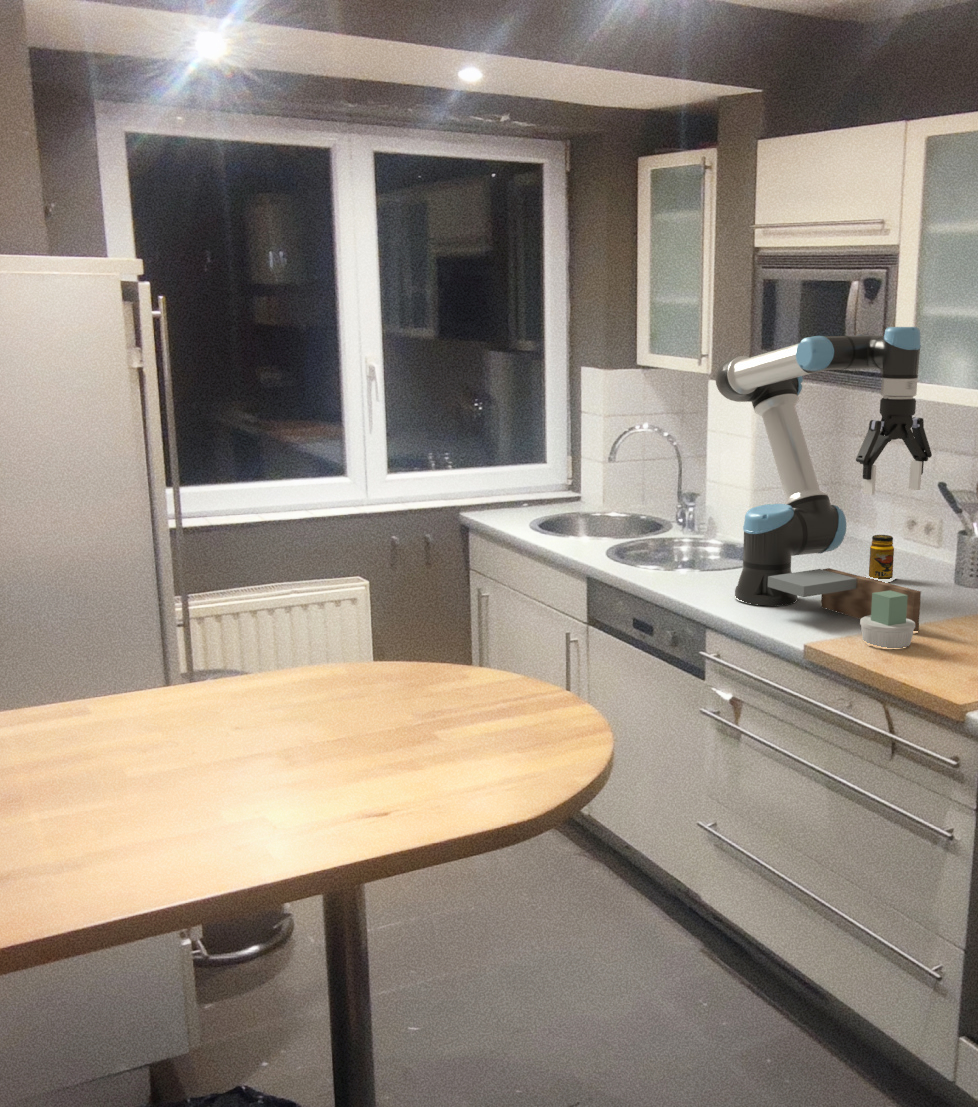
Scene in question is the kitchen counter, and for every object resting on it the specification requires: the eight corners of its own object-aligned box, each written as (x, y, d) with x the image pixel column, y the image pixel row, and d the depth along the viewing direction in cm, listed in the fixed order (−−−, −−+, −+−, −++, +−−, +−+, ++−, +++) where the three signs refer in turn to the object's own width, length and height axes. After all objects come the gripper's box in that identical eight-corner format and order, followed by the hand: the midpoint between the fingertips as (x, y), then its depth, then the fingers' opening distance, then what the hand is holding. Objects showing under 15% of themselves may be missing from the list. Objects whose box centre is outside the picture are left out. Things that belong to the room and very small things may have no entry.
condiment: (886, 584, 291) (889, 539, 289) (856, 579, 297) (858, 535, 294) (898, 579, 296) (901, 535, 294) (868, 575, 302) (870, 531, 299)
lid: (767, 586, 260) (768, 576, 260) (819, 578, 267) (819, 568, 267) (803, 597, 250) (803, 586, 249) (856, 588, 257) (856, 578, 256)
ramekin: (898, 636, 243) (899, 613, 242) (924, 650, 232) (926, 626, 231) (849, 639, 242) (850, 615, 241) (874, 653, 231) (875, 629, 230)
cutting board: (820, 607, 268) (822, 569, 266) (827, 606, 269) (828, 568, 267) (911, 634, 244) (914, 592, 242) (918, 633, 245) (920, 591, 243)
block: (870, 620, 237) (872, 592, 236) (888, 617, 239) (890, 590, 238) (888, 625, 233) (889, 597, 231) (906, 622, 235) (907, 595, 233)
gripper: (867, 400, 238) (861, 498, 243) (952, 396, 248) (945, 489, 253) (843, 398, 245) (837, 493, 249) (927, 394, 255) (920, 485, 260)
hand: (891, 491), depth 251 cm, fingers open, 13 cm apart
